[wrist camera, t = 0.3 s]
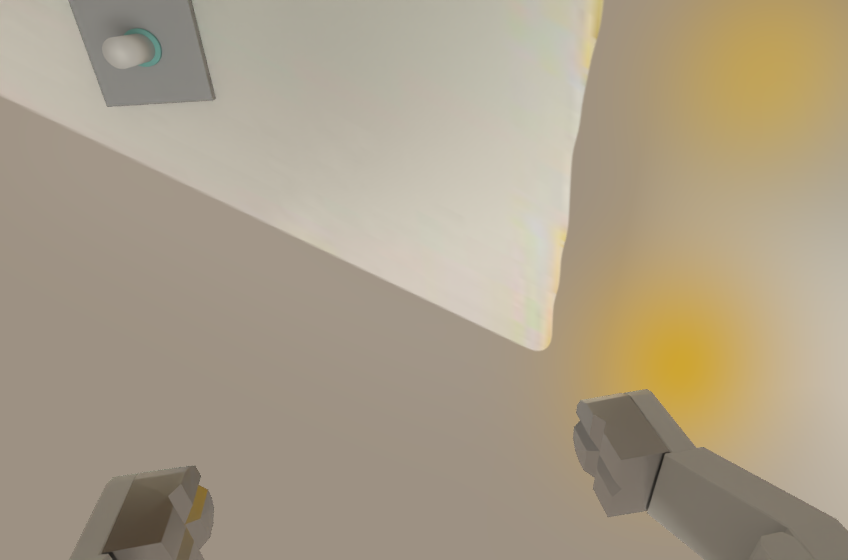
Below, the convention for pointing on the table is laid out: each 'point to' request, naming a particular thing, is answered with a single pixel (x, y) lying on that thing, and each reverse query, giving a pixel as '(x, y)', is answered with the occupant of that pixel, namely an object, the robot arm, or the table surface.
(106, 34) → the shaft stand
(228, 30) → the table surface
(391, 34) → the table surface
